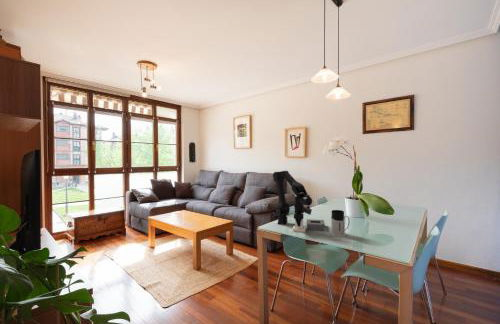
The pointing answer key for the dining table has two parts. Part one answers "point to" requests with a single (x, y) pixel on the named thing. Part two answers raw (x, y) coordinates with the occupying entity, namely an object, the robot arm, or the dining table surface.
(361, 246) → the dining table surface
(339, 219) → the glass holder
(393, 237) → the dining table surface
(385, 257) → the dining table surface
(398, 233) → the dining table surface
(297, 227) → the plug
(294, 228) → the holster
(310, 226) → the port
